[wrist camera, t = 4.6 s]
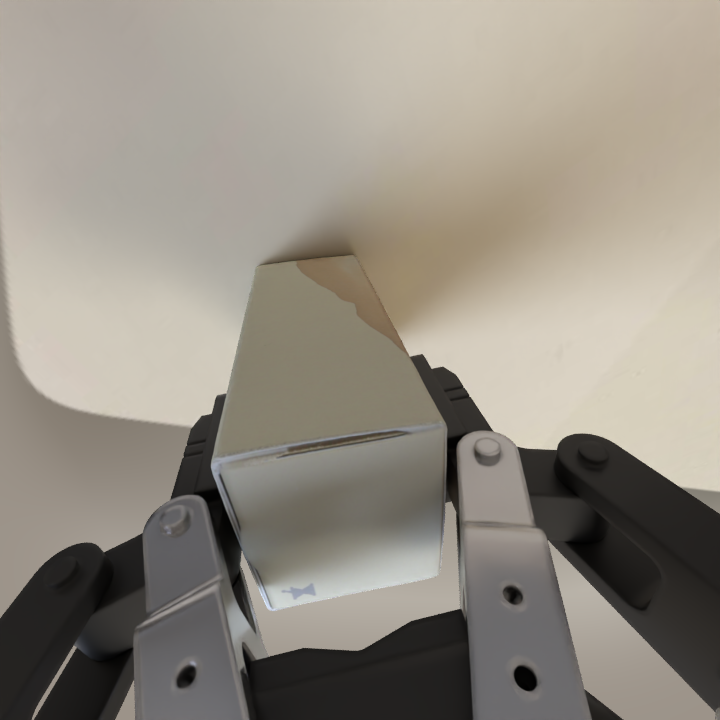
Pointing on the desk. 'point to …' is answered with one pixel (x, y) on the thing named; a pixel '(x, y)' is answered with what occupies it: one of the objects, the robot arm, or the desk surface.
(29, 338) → the desk surface
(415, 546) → the box
